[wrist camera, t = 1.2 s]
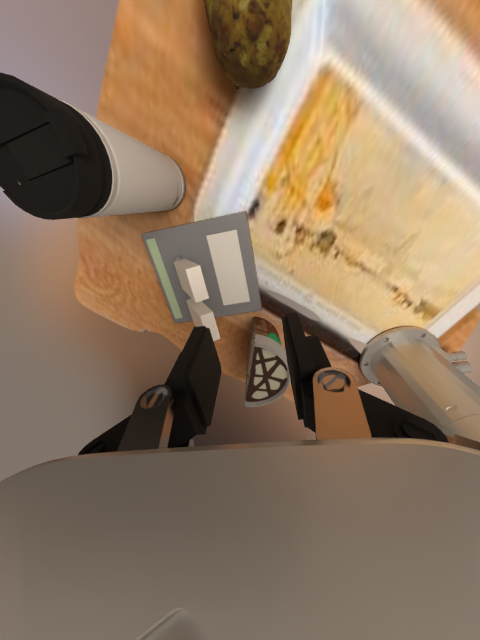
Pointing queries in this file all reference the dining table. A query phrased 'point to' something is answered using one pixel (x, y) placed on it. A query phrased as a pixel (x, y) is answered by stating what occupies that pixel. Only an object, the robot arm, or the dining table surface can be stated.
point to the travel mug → (77, 161)
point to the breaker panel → (208, 264)
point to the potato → (250, 38)
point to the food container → (265, 365)
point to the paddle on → (191, 279)
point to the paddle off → (203, 316)
